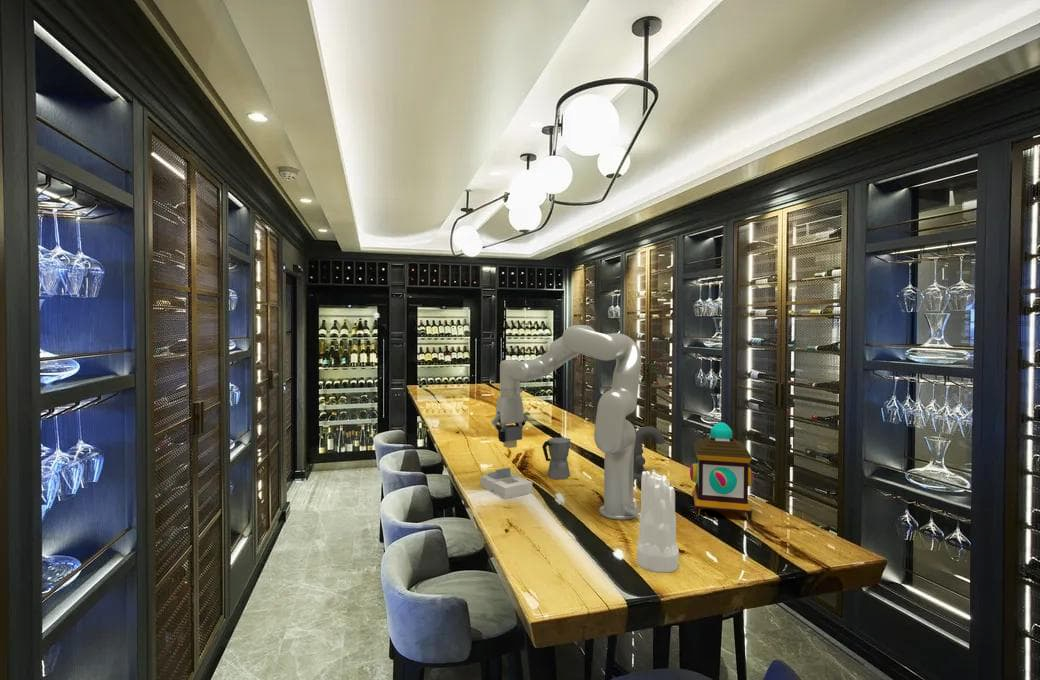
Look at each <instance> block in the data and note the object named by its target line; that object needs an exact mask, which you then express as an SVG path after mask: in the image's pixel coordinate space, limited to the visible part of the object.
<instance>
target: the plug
mask: <svg viewBox="0 0 1040 680" xmlns="http://www.w3.org/2000/svg"><path fill="white" fill-rule="evenodd" d="M504 432H505V442H504V443H503V442H502V444H503V447H505V448H507V449H513V448H517V447H518V443H517V442H518V441H521V440H523V429H522V427H519V426H516V425H515V424H514V423H512V424H506V426H505V429H504ZM497 436H498V437H497V439H499V431H498V430H497Z"/></svg>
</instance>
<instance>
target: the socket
mask: <svg viewBox="0 0 1040 680" xmlns="http://www.w3.org/2000/svg"><path fill="white" fill-rule="evenodd" d="M510 474H511V476H510V477H505V478H500V479H495V478H493V477H490V476H488V475H487V474H484V475H480V487H481V488H483V489H485V490H487V491H489V492H491V493H493V494H494V495H497V496H499V497H501V498H503V499H504V500H507V499H511V498H515V497H516V496H517V497H520V495H521V496H524V494H526V495H529V493H530V494H533V481H531V480H528V479H525V478H523V477H521V476H519V475H517V474H514V473H512V472H510Z"/></svg>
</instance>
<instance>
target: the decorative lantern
mask: <svg viewBox="0 0 1040 680" xmlns="http://www.w3.org/2000/svg"><path fill="white" fill-rule="evenodd" d="M693 447H694V452H695V456H696V462H695V463H692V464H691V465H690V468H689V476H690V477H689V478H690V480H691V482H692V483H695V484H694V485H695V486H694V487H693V489H692V492H691V493H692V499H693V505H694V514H695V516H696V517H699V516H700V512H701V510H702V509H703V510H712V511H713V510H715V511H725V512H726V511H727V512H737V513H744V514H745V515H746V520H747V521H748V522H750V521H752V517H753V510H752V507H751V505H750V503H749V498H748V497H749V488H750V486H752V484H753V483H754V474H753V470H752V468H751V467H749V464H750V463H751V461H752V455H751V454H750V452H749V450H748V449H747V447H746V446H745V445H744V443H742V442H741V441H740V440H737V439H735V438H734V437H733V430H732V429H731V427H730V426H729V425H728V424H727V423H725V422H717V423H715V424H714V425H713V426H712V427H711V428H710V434H709V435H707V436H706V437H704V438H698V439H697V440H695V441H694V443H693Z"/></svg>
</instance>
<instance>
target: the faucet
mask: <svg viewBox="0 0 1040 680" xmlns="http://www.w3.org/2000/svg"><path fill="white" fill-rule="evenodd" d="M635 434H636V439H635V447H634V460H633V480H641V478H642V472H644V471H645V472H646V471H647V469H646V468H645V466H644V465H645V464H646V461H647V460H646V458H645V457H644V456H643V454H644V449H643V441H644V439H646V438H651V439H652V440H653V443H655V444H658V445H664V444H665V442H666V441H665V437H664V435H663V433H662V432H661V431H660V430H659V429H658V428H656V427H653V426H651V425H649V426H648V425H647V426H642V427H640V428H638V429H637V430H635Z"/></svg>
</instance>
